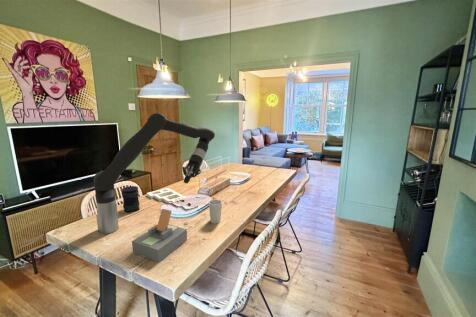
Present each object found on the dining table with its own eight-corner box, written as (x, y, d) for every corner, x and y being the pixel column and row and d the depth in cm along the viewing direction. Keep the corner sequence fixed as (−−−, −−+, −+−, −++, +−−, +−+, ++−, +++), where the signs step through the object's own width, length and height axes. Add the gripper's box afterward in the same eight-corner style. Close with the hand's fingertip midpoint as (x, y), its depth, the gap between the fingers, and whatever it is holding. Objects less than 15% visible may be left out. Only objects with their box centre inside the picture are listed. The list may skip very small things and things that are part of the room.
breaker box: (163, 232, 126) (162, 217, 124) (187, 239, 119) (186, 223, 117) (132, 252, 108) (131, 235, 106) (158, 262, 101) (157, 243, 100)
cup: (222, 217, 144) (222, 199, 142) (221, 223, 137) (221, 204, 134) (209, 217, 144) (209, 199, 142) (208, 223, 136) (208, 204, 134)
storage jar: (120, 210, 152) (118, 189, 149) (133, 205, 161) (131, 185, 158) (130, 214, 148) (128, 192, 145) (143, 208, 156) (141, 187, 153)
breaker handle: (158, 232, 114) (164, 208, 117) (166, 234, 112) (171, 210, 114) (155, 232, 113) (161, 208, 115) (163, 235, 110) (169, 210, 113)
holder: (199, 207, 161) (198, 203, 160) (175, 215, 148) (175, 211, 148) (168, 190, 192) (167, 187, 192) (146, 196, 180) (146, 193, 179)
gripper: (185, 152, 137) (172, 177, 129) (204, 154, 132) (192, 181, 124) (191, 159, 143) (179, 184, 135) (209, 162, 138) (198, 187, 129)
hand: (185, 182), depth 129 cm, fingers closed
